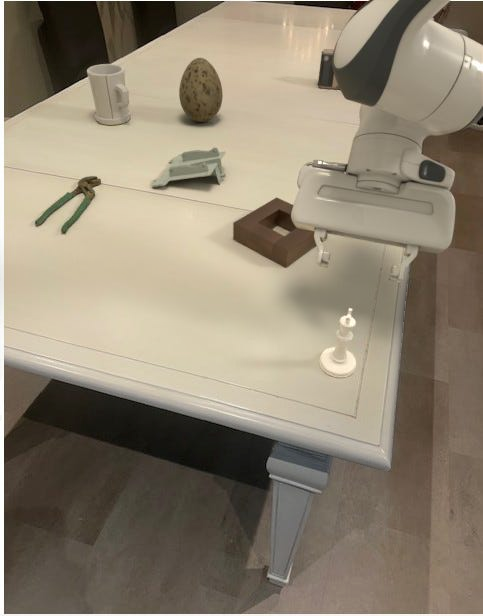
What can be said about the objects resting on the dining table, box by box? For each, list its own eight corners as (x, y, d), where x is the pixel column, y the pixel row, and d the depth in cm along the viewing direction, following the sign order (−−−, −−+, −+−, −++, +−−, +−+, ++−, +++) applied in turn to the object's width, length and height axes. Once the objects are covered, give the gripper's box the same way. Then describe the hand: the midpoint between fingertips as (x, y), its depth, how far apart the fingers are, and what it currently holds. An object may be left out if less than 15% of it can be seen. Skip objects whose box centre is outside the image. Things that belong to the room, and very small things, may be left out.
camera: (315, 88, 145) (320, 51, 138) (319, 82, 149) (323, 46, 142) (353, 92, 142) (360, 55, 136) (356, 86, 146) (362, 50, 140)
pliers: (65, 235, 86) (63, 229, 85) (32, 229, 87) (30, 223, 86) (113, 183, 100) (112, 177, 99) (84, 178, 101) (83, 172, 100)
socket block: (326, 238, 87) (329, 221, 84) (286, 267, 80) (287, 250, 78) (275, 213, 93) (276, 197, 90) (233, 239, 86) (233, 222, 84)
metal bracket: (230, 138, 103) (207, 170, 92) (236, 164, 106) (216, 197, 96) (171, 148, 108) (143, 178, 97) (179, 172, 112) (154, 204, 101)
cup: (140, 113, 127) (135, 65, 119) (131, 127, 121) (124, 77, 112) (102, 111, 128) (93, 62, 120) (90, 125, 121) (81, 74, 113)
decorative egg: (204, 132, 119) (202, 67, 109) (172, 121, 124) (167, 58, 114) (231, 119, 126) (231, 57, 115) (199, 109, 130) (197, 48, 120)
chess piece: (358, 355, 66) (373, 301, 59) (353, 381, 63) (368, 327, 56) (322, 346, 67) (333, 292, 60) (315, 372, 64) (326, 318, 57)
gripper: (301, 148, 61) (277, 253, 61) (469, 173, 57) (444, 286, 57) (304, 165, 68) (282, 261, 67) (456, 189, 64) (433, 291, 63)
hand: (358, 273), depth 62 cm, fingers open, 8 cm apart
